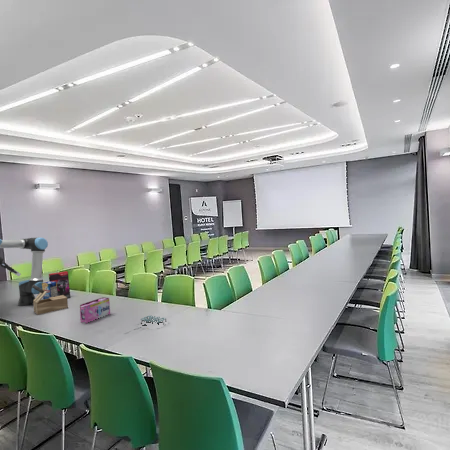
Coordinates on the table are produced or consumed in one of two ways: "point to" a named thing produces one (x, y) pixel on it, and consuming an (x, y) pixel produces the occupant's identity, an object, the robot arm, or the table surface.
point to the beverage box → (50, 289)
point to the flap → (41, 294)
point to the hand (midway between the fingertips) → (18, 274)
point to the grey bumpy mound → (152, 320)
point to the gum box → (94, 309)
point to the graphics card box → (61, 283)
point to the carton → (50, 304)
